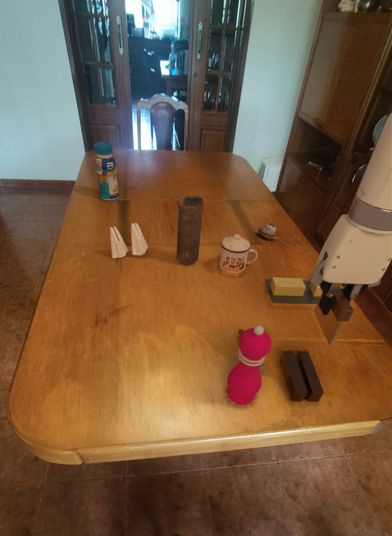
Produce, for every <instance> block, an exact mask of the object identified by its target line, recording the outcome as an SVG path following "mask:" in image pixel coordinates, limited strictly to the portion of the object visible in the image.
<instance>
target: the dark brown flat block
mask: <svg viewBox="0 0 392 536" xmlns="http://www.w3.org/2000/svg"><path fill="white" fill-rule="evenodd" d="M320 288H321V287H320ZM341 288H342V287H341V286H340V285H339V286H338V288H337V290H336V292H335V294H334V297H335V301H334V303H333V305H332V307H331V309H330V311H329V314H328V315H323V313H322V311H321V309H320V308H319V301H320V298H321V296H322V294H323V292H324V291H323V289H322V288H321V290H322V294H321V296H320V298H319V301H318V303H317V304H315V307H314V310H313V313H314V315H315V317H316V320H317V321H318V324H319V326H320V328H321V331H322V333H323V335H324V337H325V340H326V342H327V344H328V346H331V345H332V344H333V342H334V340H335V338H336V337H337V334H338V332H339V331H340V329H341V327H342V325H343V324H344V322H350V319H351V317H352V316H353V313H354V312H355V310H354V308H353V306H352V305H351V302H350V303H349V301H348V300H347V298H346V296H345V295H344V293H343V291H342V289H341Z"/></svg>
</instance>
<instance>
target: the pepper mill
mask: <svg viewBox="0 0 392 536" xmlns="http://www.w3.org/2000/svg"><path fill="white" fill-rule="evenodd" d="M239 336H240V335H239ZM272 346H273V342H272V337H271V335H270V334H269V332H267V331H266V330H265V329H264V327H263V325H260V324H259V325H256V326H254V327H250V328H247V329H246V330H244V332H243V333H242V334H241V336H240V338H239V339H238V348H239V350H238V359H239V360H238V363H237V364H236V365H234V366H233V367H232V368H231V369H230V370H229V372H228V375H227V378H226V384H227V388H226V395H227V397H228V399H229V400H230V401H231V402H233V403H234V404H236V405H239V406H240V405H241V406H246V405H250V404H252V403H253V402H254V400H255V398H256V395H258V393H259V392H260V390H261V388H262V383H263V377H262V374H261V371H260V364H263V363H264V362H265V358H266V356H267V355H268V354H269V353H270V352H271V350H272Z"/></svg>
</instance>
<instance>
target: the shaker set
mask: <svg viewBox="0 0 392 536" xmlns="http://www.w3.org/2000/svg"><path fill="white" fill-rule="evenodd" d="M109 235H110V236H109V237H110V239H109V240H110V248H111V249H110V250H111V257H112V259H118V258H119V259H121V258H124V257H125V256H126V255H127V253H128V252H129V249H128V246H127V244H126V243H125V240H124V239H123V237H122V235H121V233H120V231H119V230H118V229H117V227H116V226H113V227H112V226H111V227H110V228H109ZM130 236H131V237H130V238H131V253H132V254H131V255H133V256H138V257H143V256H144V255H146V252H147V250H148V249H149V245H148V243H147V241H146V238H145V236H144V234H143V233H142V230H141V227H140V226H139V224H138V222H134V223H133V222H132V223H131V225H130Z"/></svg>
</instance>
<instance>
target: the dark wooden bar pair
mask: <svg viewBox="0 0 392 536" xmlns="http://www.w3.org/2000/svg"><path fill="white" fill-rule="evenodd" d="M279 363H280V366H281V369H282V374H283V377H284V380H285V383H286V387H287V390H288V394H289V398H290V401H291V402H304V399H305V398H306V401H307V402H312V403H314V402H319V401H320V400H321V398H322V397H323V395H324V388H323V386H322V384H321V381H320V378H319V376H318V373H317V370H316V367H315V365H314V363H313V359H312V357H311V354H310V352H309V350H297V353H295V351H294V350H283V351H282V353H281V355H280V359H279Z"/></svg>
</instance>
